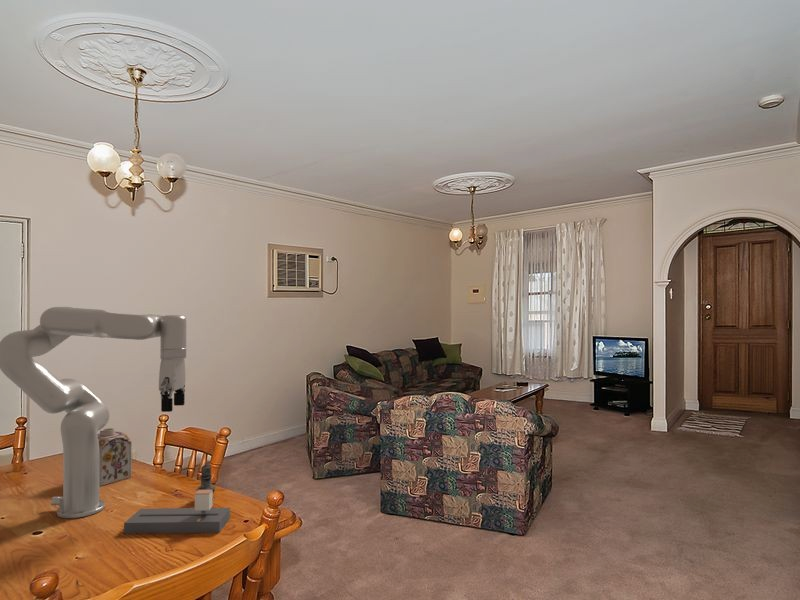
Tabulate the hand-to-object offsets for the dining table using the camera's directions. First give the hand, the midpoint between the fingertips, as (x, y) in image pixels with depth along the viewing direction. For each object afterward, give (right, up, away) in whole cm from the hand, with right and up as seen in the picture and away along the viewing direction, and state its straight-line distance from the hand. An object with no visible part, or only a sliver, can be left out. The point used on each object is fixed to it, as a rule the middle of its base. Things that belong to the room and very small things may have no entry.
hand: (173, 408), depth 165 cm
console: (+9, -30, -16) cm, 35 cm away
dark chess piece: (+9, -31, +4) cm, 32 cm away
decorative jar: (-34, -31, +24) cm, 51 cm away
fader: (+16, -27, -16) cm, 35 cm away
